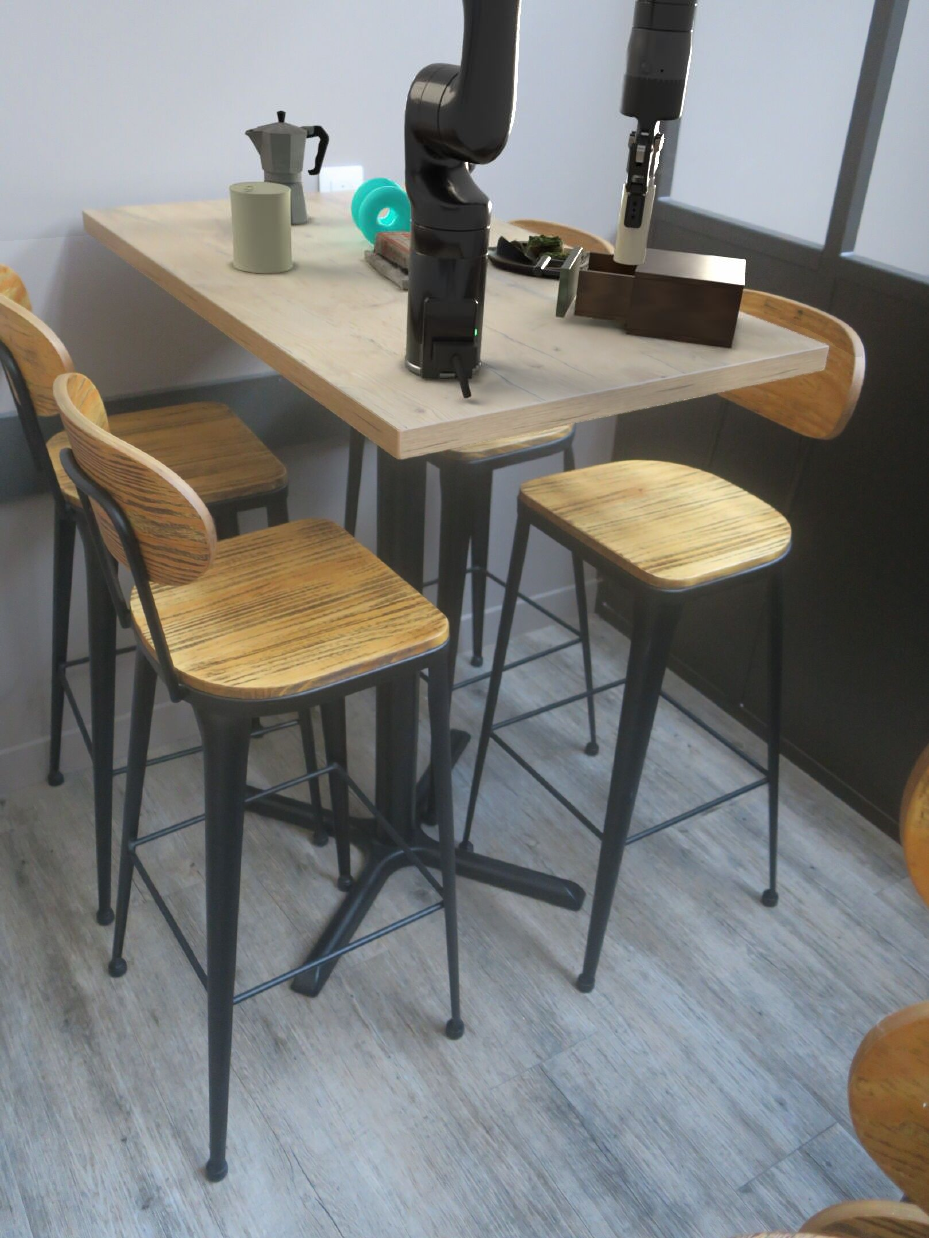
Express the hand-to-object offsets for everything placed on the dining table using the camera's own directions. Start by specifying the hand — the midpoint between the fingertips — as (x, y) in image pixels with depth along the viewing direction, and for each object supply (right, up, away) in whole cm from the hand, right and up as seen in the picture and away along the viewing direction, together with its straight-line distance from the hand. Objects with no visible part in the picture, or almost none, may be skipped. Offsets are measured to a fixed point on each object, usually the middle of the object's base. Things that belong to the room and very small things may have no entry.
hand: (634, 223), depth 133 cm
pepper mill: (0, -4, +3) cm, 5 cm away
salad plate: (-9, +9, +42) cm, 44 cm away
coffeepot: (-54, +23, +58) cm, 83 cm away
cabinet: (+10, -8, +18) cm, 22 cm away
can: (-53, +5, +31) cm, 61 cm away
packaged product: (-30, +4, +32) cm, 44 cm away
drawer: (-3, -5, +19) cm, 20 cm away
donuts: (-36, +14, +48) cm, 61 cm away
